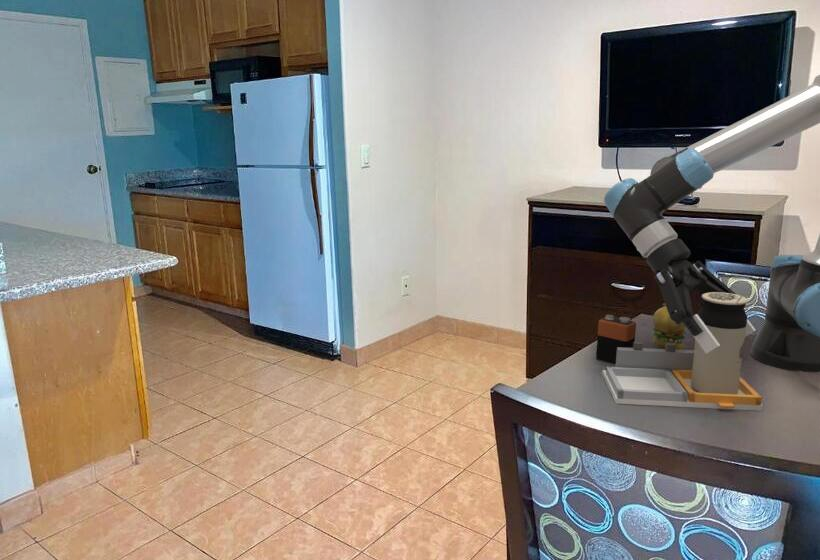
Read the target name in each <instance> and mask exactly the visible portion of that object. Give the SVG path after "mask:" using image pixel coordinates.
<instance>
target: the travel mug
mask: <svg viewBox="0 0 820 560" xmlns="http://www.w3.org/2000/svg"><path fill="white" fill-rule="evenodd" d="M701 298H702V301H703V303H702V306H701V307H700V309H699V310H698V314H697V315H698V316H699V317H700V319H701V320H702V321H703V323H704V324H705V325H706V327H707V328H708V329H709V331H710V332H711V333H712V335H713V336H714V337H715V339H716V340H717V342H718V343H719V344H720V346H718V347H717V348H715V349H714V350H712V351H710V352H709V353H707V354H706V353H705V352H704V350H703V349H702V347H701V346H700V345H699V343H698V342H697V341H696V339H695V340H694V349H693V350H694V358H693V367H692V377H691V386H692V388H694V389H695V390H697V391H698V392H700V393H717V394H737V393H738V388H739V380H740V377H741V372H742V363H743V355H744V346H745V338H746V337H745V333H746V325H747V319H748V314H747V313H746V310H745V307H746V305H747V304H748V302H749V300H748V298H747V297H745V296H743V295H740V294H737V293H736V294H731V293H722V292H710V293H704V294H701Z"/></svg>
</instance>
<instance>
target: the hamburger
mask: <svg viewBox="0 0 820 560" xmlns="http://www.w3.org/2000/svg"><path fill="white" fill-rule="evenodd" d="M662 305H663V306H662V307H660V308H658V309H657V310H656V311H655V312H654V313H653V315H652V316H653V317H652V324H653V326H654V328H653V331H654V332H653V340H652V341H653V342H652V343H653V344H654V345H655V346H656V347H657V348H658V349H665V346H666V343H674V344H675V345H676V347H675V349H676V350H685V348H686V345H685V344H683V341H684V340H685V339H686V337H685V334H687V332H686V330H685V329H686V328H687V327H686V325H685V324H684V323H683V322H682V323H681V324H679V325H678V324H676V323H675V321H673V320H671V318H670V316H669V313H668V310H667V307H666V305H665V303H662ZM675 312H676V310H675Z"/></svg>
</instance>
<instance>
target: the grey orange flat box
mask: <svg viewBox="0 0 820 560" xmlns="http://www.w3.org/2000/svg"><path fill="white" fill-rule="evenodd" d="M643 345H644V344H643V342H642V341H635V342H633V348H622V347H617V354H616V364H615V366H606V369H602V372H601V374H602V375H601V376H602V378H603V379H604V381H605V383H606V385H607V388H608V389H609V392H610V394H611V396H612V398H613V401H614V403H615V404H617V405H619V404H620V405H638V406H639V405H640V406H642V405H643V406H657V407H659V406H660V407H680V408H698V409H717V410H718V409H719V410H736V411H737V410H739V411H740V410H742V411H758V412H759V411H760V412H763V406H764V405H763V404H762V402H763V401H762V399H763V397H762V396H761V395H760V394H759V393H758V392H757V391H756V390H755V389H754V388H753V387H752V386H751V385H749V383H747V382H746V380H745V379H743V378H742V377H741V376H740V380H739V388H738V393H737V394H717V393H700V392H698V391H697V390H695V389H694V388H692V386H691V377H692V367H693V358H694V349H684V350H676V349H675V347H676V345H675V344H674V343H666V346H665V349H662V348H649V347H648V348H645V347H644V346H643Z"/></svg>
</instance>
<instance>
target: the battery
mask: <svg viewBox="0 0 820 560" xmlns="http://www.w3.org/2000/svg"><path fill="white" fill-rule="evenodd" d="M597 327H598V328H597V337H596V341H597V342H596V352H595V356H596V357H595V359H596V360H597V361H603V362H605V363H610V364H613V365H616V354H617V347H622V348H633V342H636V341H635V340H636V333H637V332H636V330H637V329H636V328H637V323H636V321H632V320H631V318H630V317H628V316H621V317H619V318H618V317H614V315H613V314H606V315H605V317H603V318H600V319H599V320H598V325H597Z"/></svg>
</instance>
